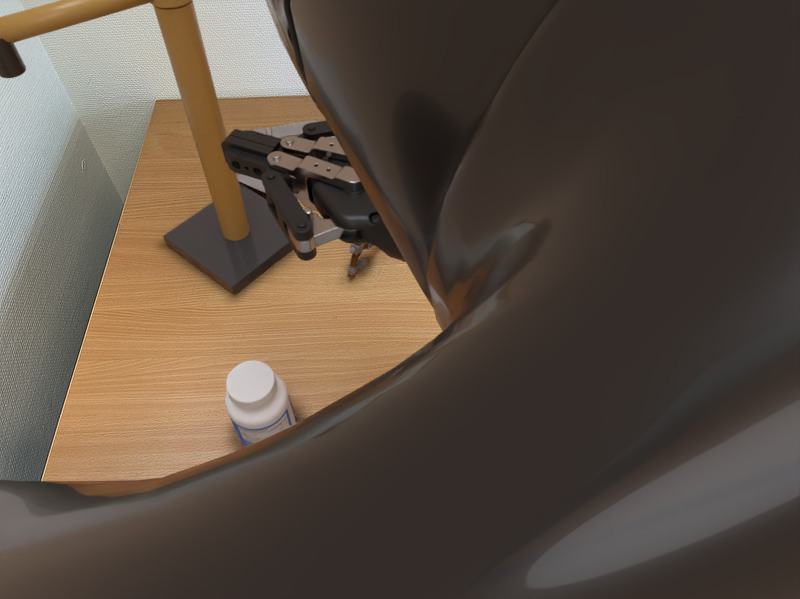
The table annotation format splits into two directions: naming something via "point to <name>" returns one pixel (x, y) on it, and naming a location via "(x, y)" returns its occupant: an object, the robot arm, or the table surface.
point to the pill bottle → (257, 401)
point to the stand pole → (203, 114)
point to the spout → (57, 24)
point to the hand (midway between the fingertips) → (229, 147)
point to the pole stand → (231, 243)
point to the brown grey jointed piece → (356, 252)
